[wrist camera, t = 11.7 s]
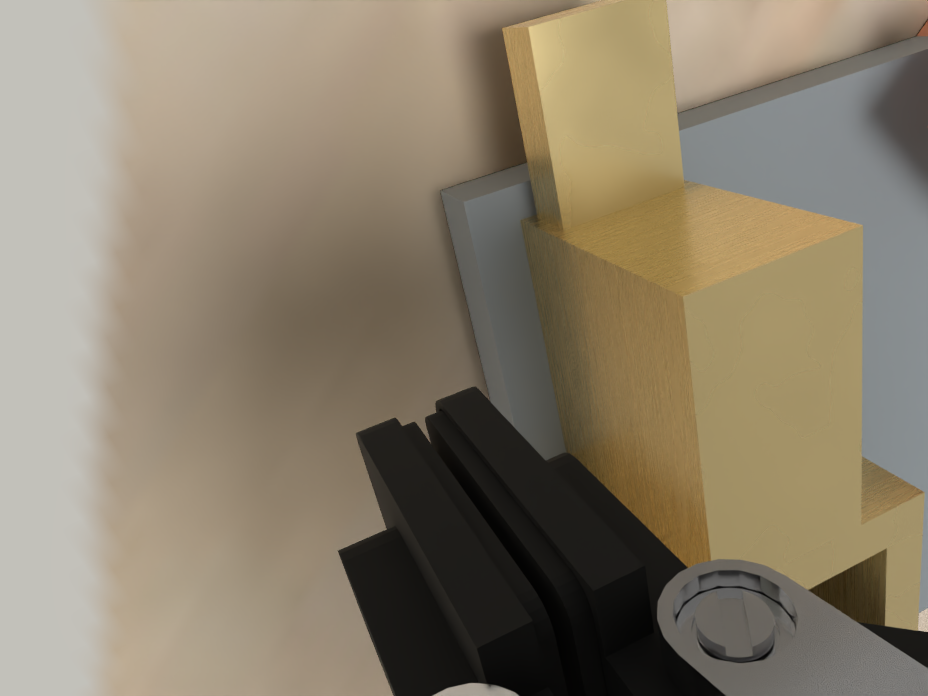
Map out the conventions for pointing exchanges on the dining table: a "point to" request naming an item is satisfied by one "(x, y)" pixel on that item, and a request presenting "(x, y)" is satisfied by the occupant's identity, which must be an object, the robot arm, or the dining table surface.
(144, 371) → the dining table surface
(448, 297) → the dining table surface
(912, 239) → the base plate
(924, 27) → the pink t-shaped block
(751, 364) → the link
